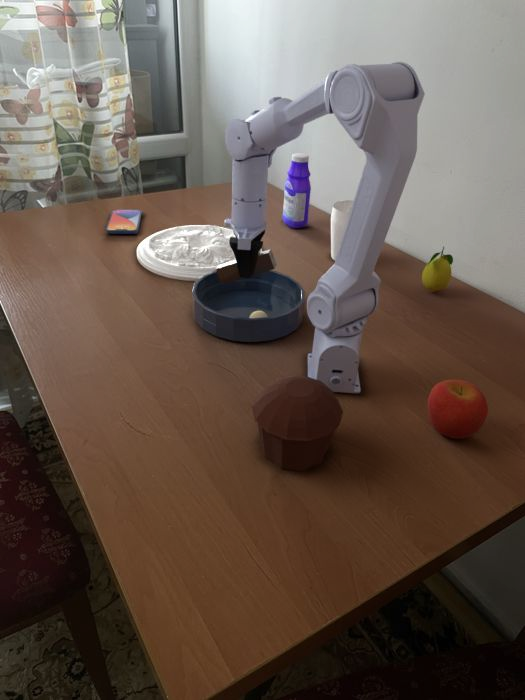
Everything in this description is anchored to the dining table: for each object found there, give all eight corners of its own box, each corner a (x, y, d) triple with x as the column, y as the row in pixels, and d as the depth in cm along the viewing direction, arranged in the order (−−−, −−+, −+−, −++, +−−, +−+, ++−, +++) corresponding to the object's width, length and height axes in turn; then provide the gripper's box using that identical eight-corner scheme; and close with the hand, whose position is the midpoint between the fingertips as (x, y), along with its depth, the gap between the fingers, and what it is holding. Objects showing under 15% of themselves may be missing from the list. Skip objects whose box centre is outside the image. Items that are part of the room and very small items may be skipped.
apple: (454, 457, 73) (470, 412, 68) (409, 424, 78) (421, 380, 74) (489, 436, 77) (505, 392, 72) (444, 405, 82) (457, 363, 78)
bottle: (278, 220, 143) (283, 151, 133) (297, 218, 145) (303, 150, 135) (291, 230, 137) (297, 159, 128) (310, 228, 139) (318, 158, 130)
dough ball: (272, 329, 94) (253, 337, 95) (272, 320, 97) (254, 328, 98) (263, 312, 93) (244, 320, 93) (263, 304, 96) (245, 312, 96)
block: (274, 269, 95) (268, 252, 94) (221, 284, 97) (215, 268, 96) (276, 264, 97) (271, 248, 96) (225, 279, 100) (219, 264, 99)
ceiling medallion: (220, 222, 140) (221, 210, 138) (287, 263, 121) (288, 250, 119) (116, 242, 126) (115, 229, 124) (173, 292, 107) (172, 278, 105)
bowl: (302, 349, 93) (304, 323, 90) (183, 340, 93) (182, 314, 90) (302, 293, 109) (304, 270, 107) (202, 286, 110) (201, 263, 107)
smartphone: (142, 213, 142) (141, 209, 141) (137, 234, 129) (137, 230, 129) (113, 213, 141) (112, 209, 141) (105, 234, 129) (105, 230, 128)
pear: (419, 298, 110) (430, 252, 105) (413, 284, 115) (423, 240, 110) (452, 300, 110) (464, 254, 105) (444, 286, 115) (456, 242, 110)
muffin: (289, 407, 80) (294, 351, 74) (352, 445, 74) (364, 386, 68) (232, 449, 72) (234, 389, 66) (298, 494, 66) (306, 432, 61)
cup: (364, 268, 121) (373, 216, 114) (323, 263, 122) (330, 211, 115) (366, 253, 128) (374, 202, 121) (328, 248, 129) (334, 198, 123)
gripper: (230, 181, 96) (228, 253, 104) (219, 209, 84) (218, 288, 92) (270, 184, 96) (266, 256, 103) (265, 213, 84) (260, 291, 91)
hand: (246, 271), depth 97 cm, fingers closed on block, 3 cm apart
